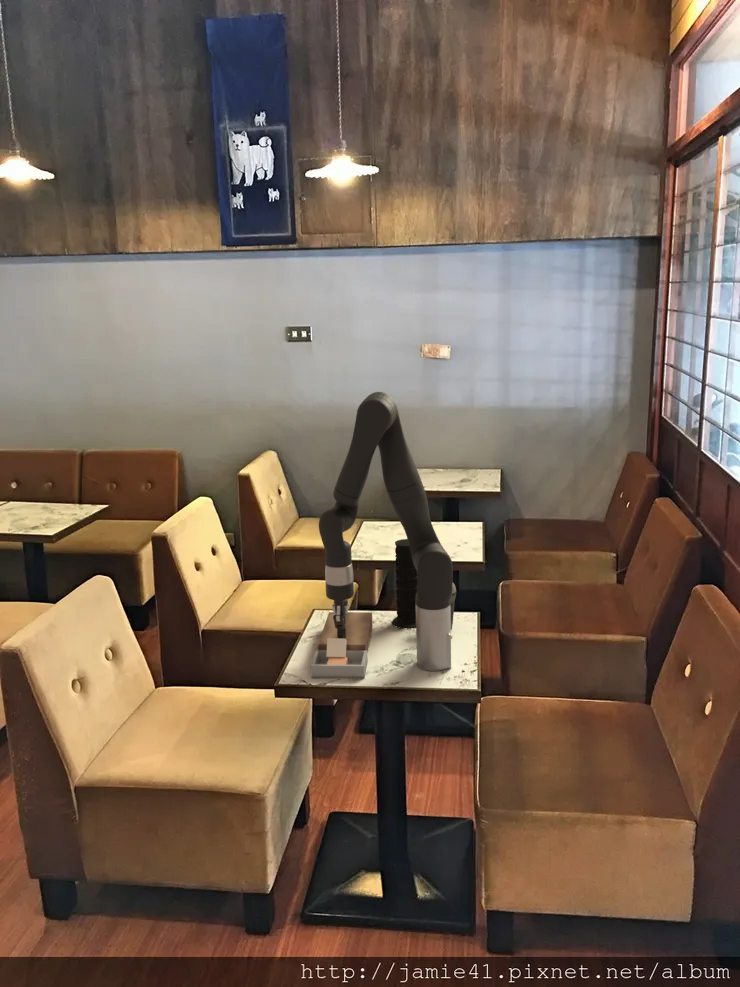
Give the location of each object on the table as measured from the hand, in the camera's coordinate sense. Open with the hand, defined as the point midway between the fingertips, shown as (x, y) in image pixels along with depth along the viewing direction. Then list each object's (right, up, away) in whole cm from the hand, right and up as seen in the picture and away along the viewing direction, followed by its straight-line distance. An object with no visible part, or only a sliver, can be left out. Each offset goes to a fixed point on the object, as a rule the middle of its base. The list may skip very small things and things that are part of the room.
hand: (341, 639), depth 223 cm
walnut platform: (+1, -3, +11) cm, 12 cm away
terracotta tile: (-1, -5, -7) cm, 8 cm away
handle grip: (+19, +1, +25) cm, 32 cm away
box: (0, -7, -5) cm, 9 cm away
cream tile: (-1, -3, -1) cm, 3 cm away
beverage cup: (+30, 0, +20) cm, 36 cm away
